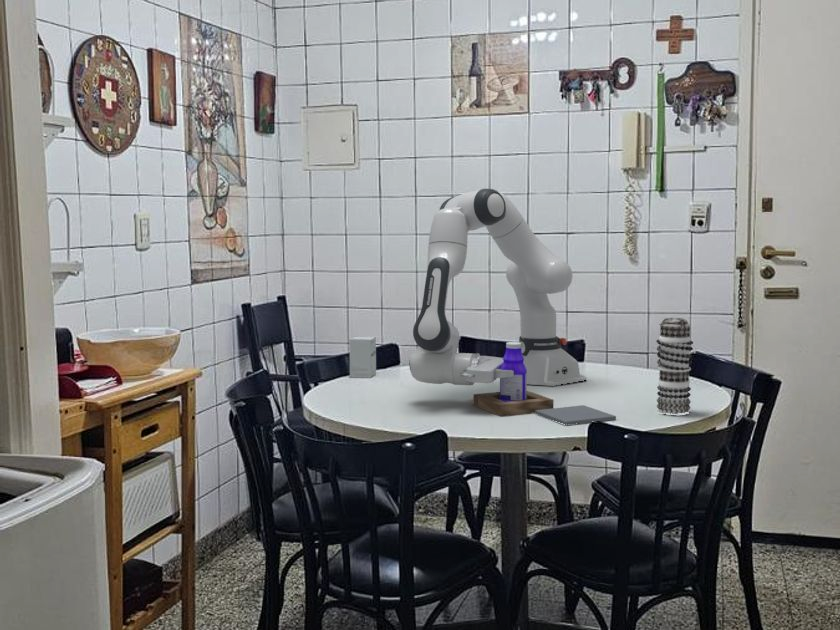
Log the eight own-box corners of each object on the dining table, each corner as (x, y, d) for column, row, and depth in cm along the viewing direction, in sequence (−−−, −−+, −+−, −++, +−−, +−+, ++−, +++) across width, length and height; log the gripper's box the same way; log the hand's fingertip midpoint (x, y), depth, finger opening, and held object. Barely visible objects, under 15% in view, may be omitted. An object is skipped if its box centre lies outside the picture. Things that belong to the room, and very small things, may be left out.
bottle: (528, 404, 259) (528, 341, 257) (524, 408, 254) (524, 344, 252) (502, 402, 261) (502, 340, 259) (497, 407, 256) (497, 343, 254)
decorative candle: (685, 418, 243) (688, 321, 240) (650, 414, 248) (652, 319, 245) (696, 411, 251) (698, 317, 248) (661, 407, 255) (663, 316, 253)
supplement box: (371, 378, 305) (370, 339, 303) (349, 377, 306) (348, 339, 305) (376, 374, 312) (376, 336, 311) (355, 373, 313) (354, 336, 312)
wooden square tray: (524, 399, 268) (524, 389, 268) (553, 410, 253) (553, 399, 253) (473, 404, 262) (473, 394, 261) (500, 416, 247) (500, 405, 247)
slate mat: (583, 408, 255) (583, 405, 255) (615, 419, 241) (615, 416, 241) (535, 414, 249) (535, 410, 249) (565, 425, 236) (565, 421, 236)
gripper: (457, 364, 250) (508, 366, 246) (475, 352, 269) (523, 354, 265) (457, 387, 251) (508, 390, 247) (475, 374, 270) (523, 376, 266)
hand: (516, 371), depth 256 cm, fingers closed on bottle, 6 cm apart
